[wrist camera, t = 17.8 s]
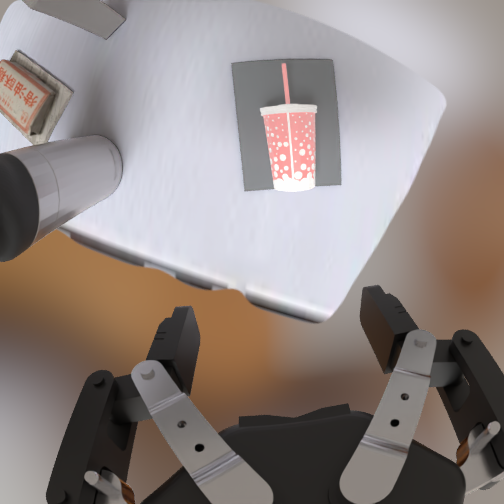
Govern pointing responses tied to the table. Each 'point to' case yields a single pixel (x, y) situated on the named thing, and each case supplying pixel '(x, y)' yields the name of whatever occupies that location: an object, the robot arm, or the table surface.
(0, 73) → the packaged product
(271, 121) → the beverage cup
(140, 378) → the robot arm
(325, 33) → the table surface
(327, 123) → the mat
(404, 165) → the table surface
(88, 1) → the vintage mobile phone
